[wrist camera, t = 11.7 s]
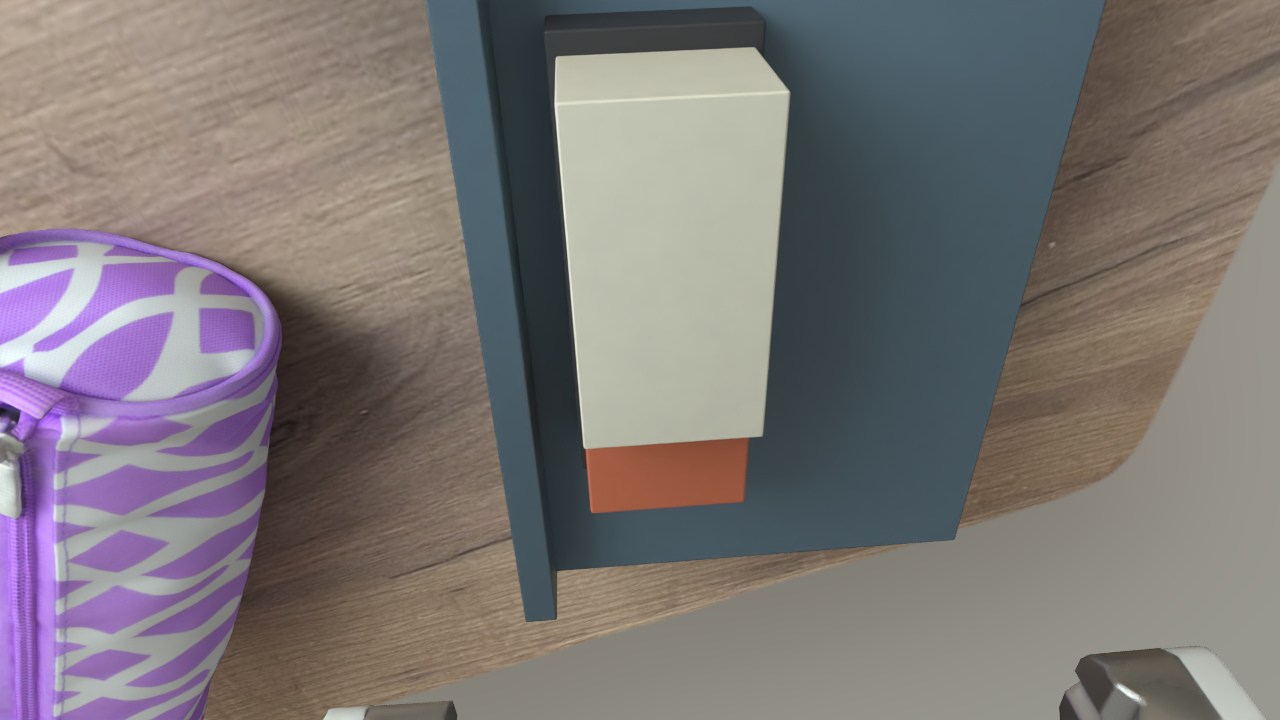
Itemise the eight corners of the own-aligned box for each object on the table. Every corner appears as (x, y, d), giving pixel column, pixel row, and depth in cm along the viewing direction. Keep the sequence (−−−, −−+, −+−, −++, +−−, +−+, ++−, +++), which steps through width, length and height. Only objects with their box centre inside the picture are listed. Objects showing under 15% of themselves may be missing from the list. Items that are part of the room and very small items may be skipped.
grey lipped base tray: (1050, -325, 20) (1292, -386, 13) (897, 432, 34) (979, 585, 27) (432, -312, 19) (364, -370, 13) (532, 458, 33) (525, 623, 26)
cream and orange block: (544, 14, 18) (540, 74, 14) (752, 6, 18) (804, 61, 14) (580, 437, 25) (584, 555, 21) (731, 426, 25) (763, 541, 21)
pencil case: (5, 159, 24) (-254, 326, 17) (324, 245, 27) (228, 426, 19) (31, 619, 36) (-117, 847, 28) (254, 651, 38) (176, 869, 30)
